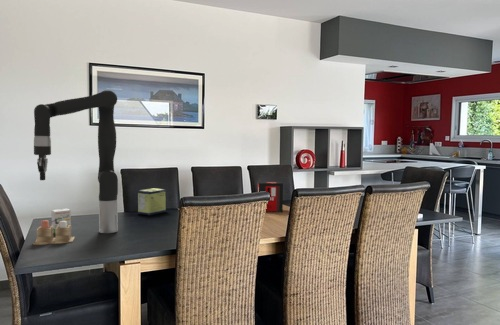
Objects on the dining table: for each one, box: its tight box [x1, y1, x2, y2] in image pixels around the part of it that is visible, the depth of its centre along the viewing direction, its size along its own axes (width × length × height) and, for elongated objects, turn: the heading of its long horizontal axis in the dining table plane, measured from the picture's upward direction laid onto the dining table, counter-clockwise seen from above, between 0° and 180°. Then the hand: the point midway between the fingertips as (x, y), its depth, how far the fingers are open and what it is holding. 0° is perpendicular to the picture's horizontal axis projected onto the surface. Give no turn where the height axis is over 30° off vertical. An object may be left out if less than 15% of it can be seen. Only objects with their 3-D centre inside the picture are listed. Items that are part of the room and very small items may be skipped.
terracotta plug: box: [40, 219, 50, 229], centre depth 189 cm, size 3×3×8 cm
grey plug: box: [59, 221, 67, 228], centre depth 191 cm, size 3×3×8 cm
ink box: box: [51, 208, 72, 234], centre depth 209 cm, size 8×5×12 cm, turn 131°
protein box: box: [137, 187, 167, 216], centre depth 262 cm, size 10×16×16 cm
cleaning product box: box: [257, 181, 284, 213], centre depth 272 cm, size 16×9×20 cm, turn 94°
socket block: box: [32, 224, 76, 246], centre depth 190 cm, size 17×9×7 cm, turn 107°
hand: (42, 180), depth 194 cm, fingers closed
